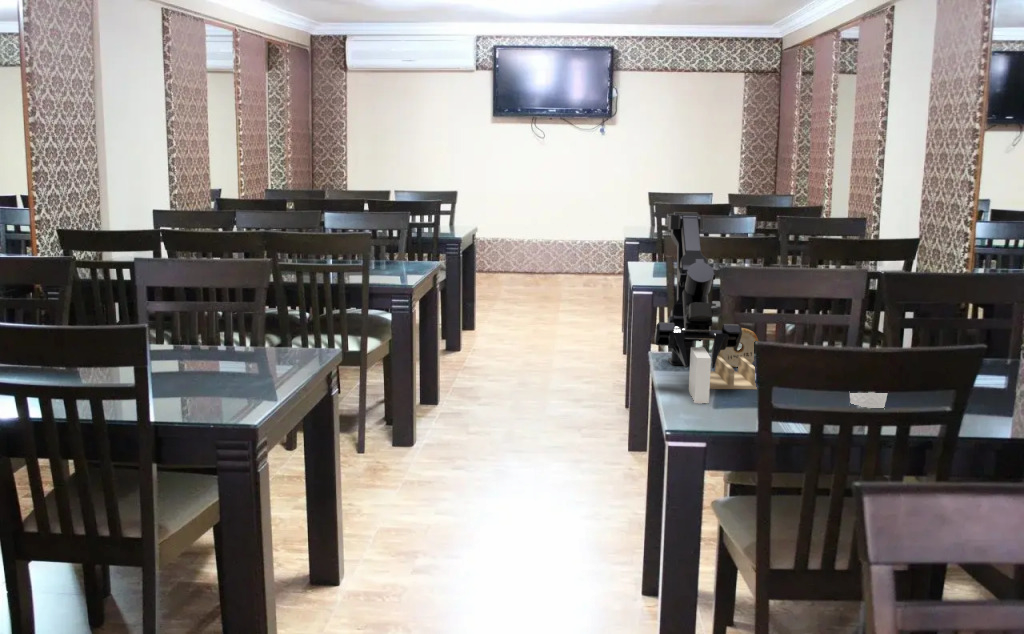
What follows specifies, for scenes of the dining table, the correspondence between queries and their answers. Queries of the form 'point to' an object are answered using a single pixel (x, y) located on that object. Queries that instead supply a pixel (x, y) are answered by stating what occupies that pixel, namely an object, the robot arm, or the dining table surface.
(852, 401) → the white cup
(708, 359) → the white block
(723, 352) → the stone disc
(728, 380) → the plate rack
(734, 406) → the dining table surface
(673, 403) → the dining table surface
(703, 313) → the robot arm
